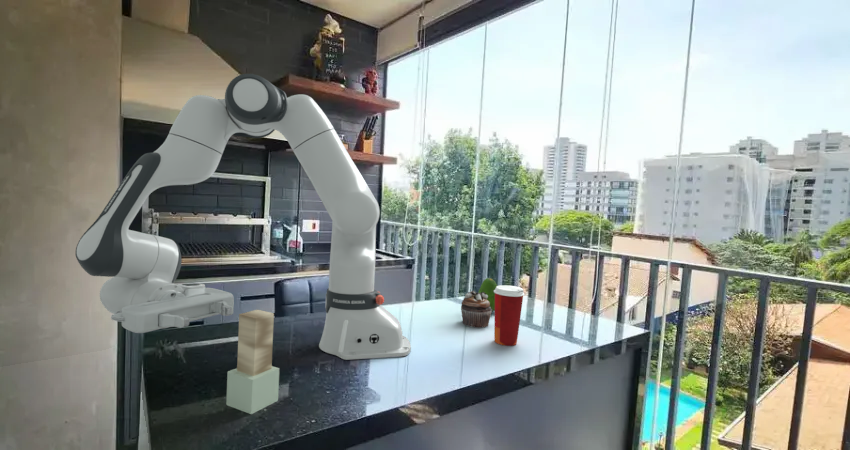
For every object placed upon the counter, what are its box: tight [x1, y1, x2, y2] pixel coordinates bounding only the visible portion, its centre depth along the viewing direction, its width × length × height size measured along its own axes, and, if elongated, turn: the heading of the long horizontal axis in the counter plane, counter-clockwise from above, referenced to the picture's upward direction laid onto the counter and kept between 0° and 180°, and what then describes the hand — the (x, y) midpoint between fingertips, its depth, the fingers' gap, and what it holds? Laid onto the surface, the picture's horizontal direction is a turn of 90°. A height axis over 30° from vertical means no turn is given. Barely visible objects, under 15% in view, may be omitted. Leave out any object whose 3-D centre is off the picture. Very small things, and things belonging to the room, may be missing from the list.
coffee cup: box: [493, 284, 525, 347], centre depth 119 cm, size 8×8×15 cm
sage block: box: [225, 365, 280, 415], centre depth 77 cm, size 6×6×6 cm
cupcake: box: [460, 290, 493, 329], centre depth 135 cm, size 10×10×10 cm
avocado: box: [477, 277, 498, 312], centre depth 150 cm, size 8×8×12 cm
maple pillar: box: [236, 309, 275, 376], centre depth 76 cm, size 4×4×10 cm
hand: (209, 316), depth 82 cm, fingers open, 8 cm apart
